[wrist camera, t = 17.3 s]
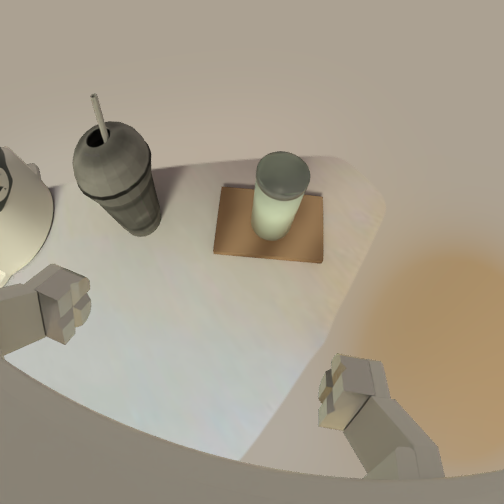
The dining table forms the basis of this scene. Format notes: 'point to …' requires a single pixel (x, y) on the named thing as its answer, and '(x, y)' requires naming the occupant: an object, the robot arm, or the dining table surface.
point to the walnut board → (251, 245)
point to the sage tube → (278, 194)
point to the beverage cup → (118, 173)
